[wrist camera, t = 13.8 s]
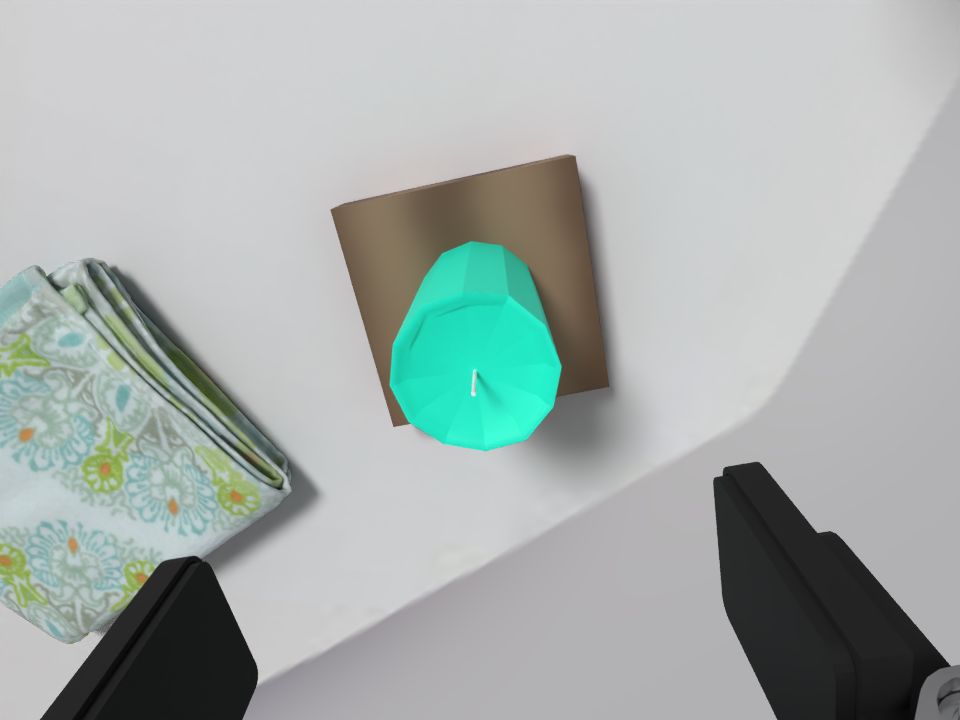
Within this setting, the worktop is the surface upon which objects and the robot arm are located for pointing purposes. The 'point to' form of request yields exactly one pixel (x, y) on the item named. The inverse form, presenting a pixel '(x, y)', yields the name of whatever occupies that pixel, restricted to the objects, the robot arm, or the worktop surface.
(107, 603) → the towel
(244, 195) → the worktop surface
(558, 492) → the worktop surface
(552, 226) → the walnut base
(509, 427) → the candle
